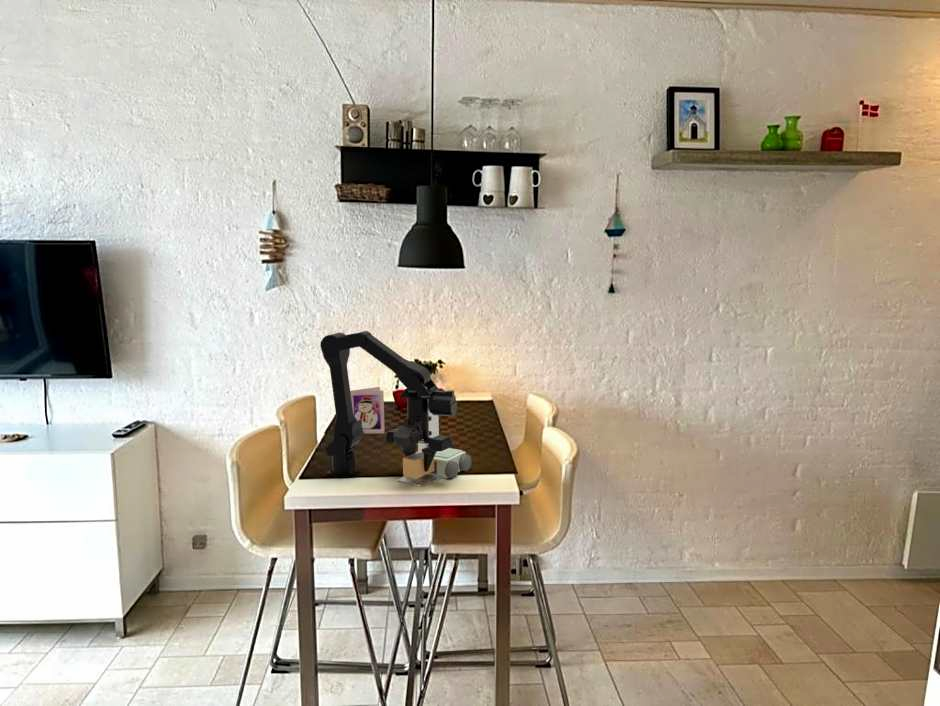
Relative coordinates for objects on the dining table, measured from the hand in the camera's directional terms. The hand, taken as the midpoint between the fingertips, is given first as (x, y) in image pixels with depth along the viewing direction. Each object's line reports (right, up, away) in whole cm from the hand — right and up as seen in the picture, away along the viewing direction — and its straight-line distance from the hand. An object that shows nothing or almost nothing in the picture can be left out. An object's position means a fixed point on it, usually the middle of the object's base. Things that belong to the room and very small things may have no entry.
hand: (418, 469), depth 183 cm
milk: (+1, +1, +25) cm, 25 cm away
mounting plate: (0, -3, +1) cm, 3 cm away
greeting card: (-21, +4, +51) cm, 56 cm away
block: (0, -1, 0) cm, 1 cm away
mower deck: (+5, -2, +8) cm, 10 cm away
